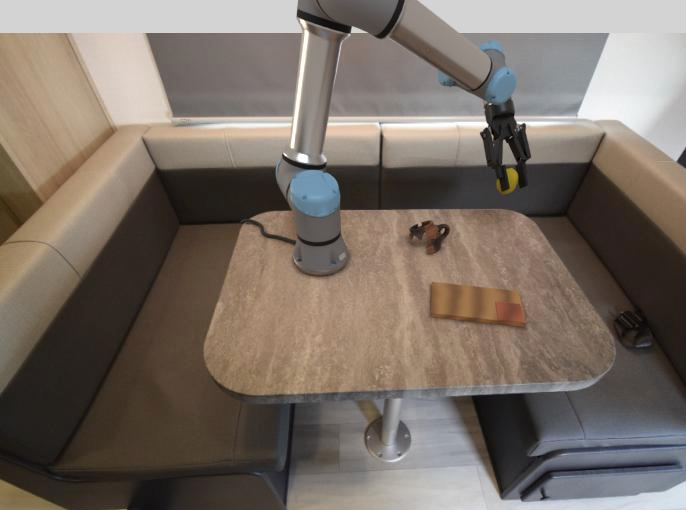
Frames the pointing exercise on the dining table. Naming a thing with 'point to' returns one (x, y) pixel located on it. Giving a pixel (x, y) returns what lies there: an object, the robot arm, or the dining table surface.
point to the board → (477, 304)
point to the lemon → (512, 181)
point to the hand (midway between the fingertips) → (514, 188)
